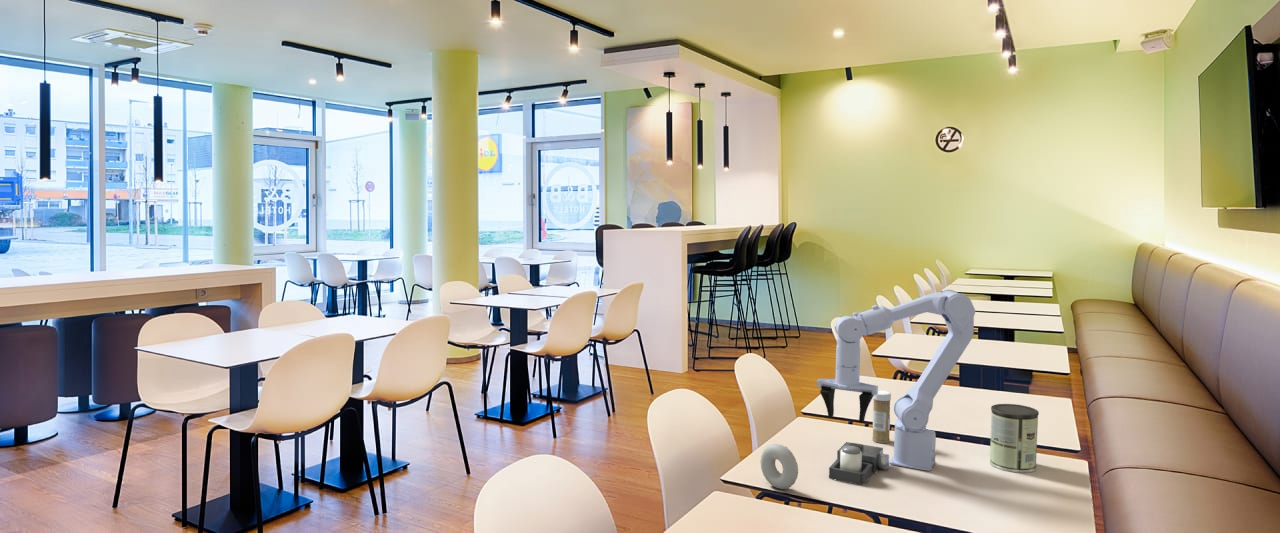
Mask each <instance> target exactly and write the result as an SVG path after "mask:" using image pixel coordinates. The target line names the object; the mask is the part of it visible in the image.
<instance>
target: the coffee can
mask: <svg viewBox="0 0 1280 533" xmlns="http://www.w3.org/2000/svg"><path fill="white" fill-rule="evenodd" d="M990 410H991V422H990V424H991V425H990V449H989V450H990V453H989V454H990V456H989V457H990V458H989V464H990V465H991V466H992V467H994V468H996V469H998V470H1002V471H1005V472H1009V473H1010V472H1011V473H1020V474H1022V473H1023V474H1027V473H1033V472H1035V471H1036V470H1037V450H1038V446H1037V445H1038V426H1039V425H1038V424H1039V423H1038V422H1039V420H1038V419H1039V415H1040V414H1039V410H1038V409H1036V408H1033V407H1030V406H1026V405H1023V404H1022V405H1021V404H1015V403H997V404H994V405H991V406H990Z"/></svg>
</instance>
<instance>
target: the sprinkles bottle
mask: <svg viewBox="0 0 1280 533" xmlns="http://www.w3.org/2000/svg"><path fill="white" fill-rule="evenodd" d="M891 399H892V394H891V392H890V391H887V390H878V394H877V395H874V396H873V398H872V400H873V408H872V409H873V410H872V441H874V442H875V443H880V444H887V443H889V442H890V440H891V439H890V430H891V418H890V417H891Z"/></svg>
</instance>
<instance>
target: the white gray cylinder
mask: <svg viewBox="0 0 1280 533" xmlns="http://www.w3.org/2000/svg"><path fill="white" fill-rule="evenodd" d="M842 446H843V445H842ZM842 446H841V447H842ZM861 466H862V452H861V451H860V448H859V447H856V446H843V447H842V449H841V451H840V469H844V470H849V471H855V472H860V473H861Z"/></svg>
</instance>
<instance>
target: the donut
mask: <svg viewBox="0 0 1280 533" xmlns="http://www.w3.org/2000/svg"><path fill="white" fill-rule="evenodd" d="M776 460H777V461H779V462H780V464H781V466H782V473H781V472H780V471H779V470H778V468H777V466H776ZM798 466H799V465H798V462H797V460H796V457H795V455H794V454H793V452H792V451H791V450H790V449H789V448H788V447H786V446H784V445H783V444H779V443H773V444H770V445H768V446H766V447H765V448H764V449H763V451H762V454H761V456H760V469H761V472H762V475H763V477H764V478H765V480H766V481H767V482H768V484H770V485H771V486H772V487H774V488H776V489H779V488H780V489H781V490H786V489H789V488H791V487H793V485H794V484H795V483H796V481H797V479H798V476H799V467H798ZM780 489H779V490H780Z"/></svg>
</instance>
